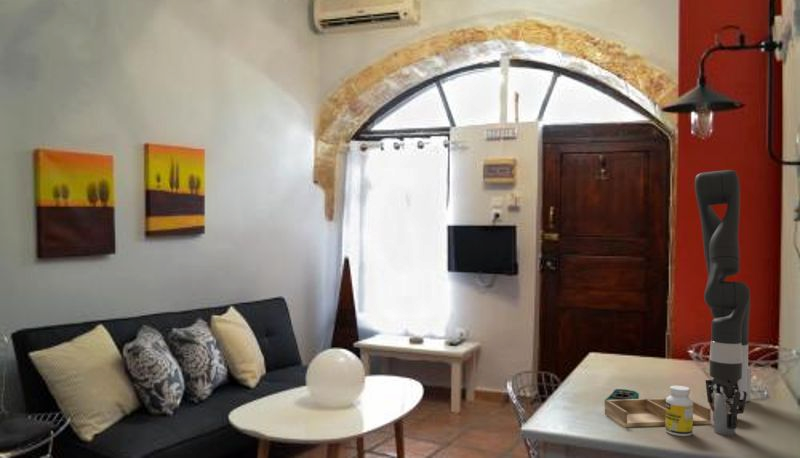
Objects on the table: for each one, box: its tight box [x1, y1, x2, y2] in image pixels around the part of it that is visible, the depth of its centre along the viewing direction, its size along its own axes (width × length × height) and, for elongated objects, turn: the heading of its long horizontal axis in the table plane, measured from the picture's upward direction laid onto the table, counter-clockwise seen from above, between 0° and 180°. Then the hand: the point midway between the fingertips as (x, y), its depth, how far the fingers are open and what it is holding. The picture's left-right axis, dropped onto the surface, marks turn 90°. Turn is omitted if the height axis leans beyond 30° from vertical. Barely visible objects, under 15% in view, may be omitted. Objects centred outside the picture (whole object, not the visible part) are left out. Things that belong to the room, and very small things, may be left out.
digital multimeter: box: [604, 388, 640, 401], centre depth 201 cm, size 7×15×3 cm, turn 151°
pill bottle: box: [665, 385, 694, 437], centre depth 173 cm, size 6×6×12 cm
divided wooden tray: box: [604, 397, 712, 428], centre depth 185 cm, size 24×12×4 cm, turn 98°
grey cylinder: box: [713, 392, 737, 437], centre depth 174 cm, size 5×5×10 cm
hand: (724, 425), depth 174 cm, fingers closed on grey cylinder, 5 cm apart
